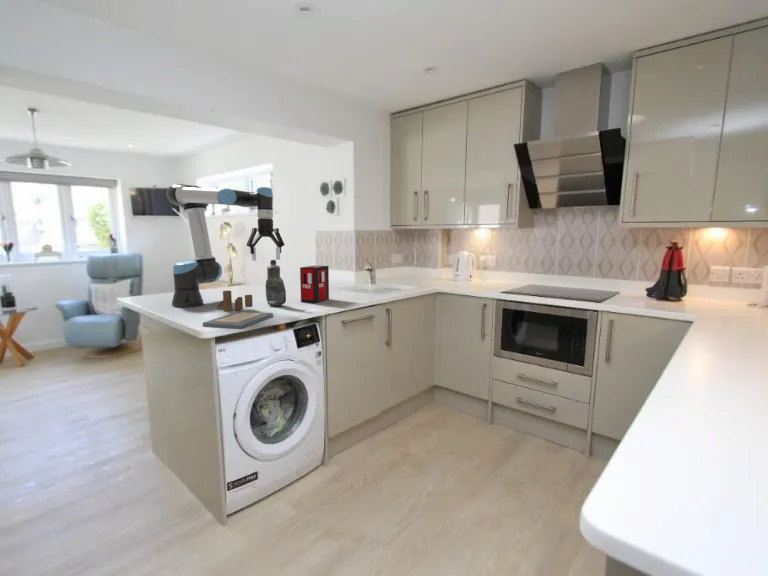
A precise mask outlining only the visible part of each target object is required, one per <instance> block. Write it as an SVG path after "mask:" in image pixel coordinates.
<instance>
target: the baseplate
mask: <svg viewBox="0 0 768 576" xmlns="http://www.w3.org/2000/svg"><path fill="white" fill-rule="evenodd" d="M272 317H274V313H273V312H261V311H260V312H259V311H243V310H239V311H236V312H233V313H232V312H231V313H229V314H226V315H223V316H220V317H216V318H213V319H209V320H206V321H204V322H202V327H208V326H210V327H209V328H211V327H212V328H213V327H214V328H225V329H227V328H228V329H240V330H241V329H245V328H246V327H248V326H251V325H254V324H257V323H259V322H261V321H264V320H267V319H269V318H272Z"/></svg>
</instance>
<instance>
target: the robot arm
mask: <svg viewBox="0 0 768 576" xmlns="http://www.w3.org/2000/svg"><path fill="white" fill-rule="evenodd" d="M273 196H274V195H273V189H272V188H271V187H268V186H260V187H257V188H256V191H245V190H237V189H233V188H232V189H231V188H209V187H208V188H205V187H202V186H198V185H189V184H183V183H175V184H171V185H170V186H169V187H168V188H167V190H166V198H167V199H168V201H169V202H170V203H171V204H173V205H175V206H178V207H183V212H184V213H186V215H187V218H188V223H189V230H190V237H191V241H192V246H193V252H194V258H193V259H192V260H183V261H179V262H176V263H174V264H173V269H172V273H173V282H174V283H173V284H174V285H173V286H174V293H173V298H172V301H171V306H172V307H173V306H174V307H173V308H191V307H200V306H203V305H204V298H203V297H202V296H203V295H202V294H201V292H200V286H199V285H201V284H210V283H214V282H217V281H218V280H219V279H220V278H221V276H222V273H223V268H222V265H221V264H220V262H218V261H216V257H215V256H214V255H213V254H212V249H211V243H210V236H209V232H208V227H207V220H206V214H205V213H206V212H207V210H208V206H209V205H224V206H236V207H237V206H238V207H242V208H251V207H252V208H254V207H255V208H257V218H258V219H257V227H252V229H251V233H250V236H249V237H248V240H247V242H246V247H249V250H250V255H251V260H252V261H254V262H255V261H257V248H256V246H257V244H258V243H259V241H260V240H261V239H262V238H266V237H267V238H270V239H271V240H272V242H273V243H274V244H275V245H276V247H275V260H281V253H282V248H283V247H284V246H285V242H284V240H283V238H282V235H281V233H280V229H279V228H275V227H274V220H273V218H274V214H273V213H274V211H273V210H274V209H273V201H274V200H273V198H274V197H273ZM257 232H258V233H257ZM256 234H257V235H256ZM274 234H275V235H274Z"/></svg>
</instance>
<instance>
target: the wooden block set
mask: <svg viewBox="0 0 768 576" xmlns="http://www.w3.org/2000/svg"><path fill="white" fill-rule="evenodd" d="M243 303H244V305H243ZM232 304H233V301H232V290H223V291H222V300H221V301H220V302H219V304H217V305H216V308H218V309H219V308H223V312H228V311H229V312H232V311H233V305H232ZM253 304H254V303H253V295H252V294H245V295H244V301H243V296H238V297H236V299H235V300H234V309H235V310H239V311H241V310H243V309H244V307H245V308H253ZM243 306H244V307H243Z"/></svg>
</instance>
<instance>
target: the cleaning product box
mask: <svg viewBox="0 0 768 576" xmlns="http://www.w3.org/2000/svg"><path fill="white" fill-rule="evenodd" d="M329 270H330V269H329V265H310V266H302V267H300V268H299V278H300V303H306V304H317V303H321V302H325V301H327V299H328V300H329V299H330V284H329V283H330V282H329V281H330V279H329V276H330V275H329ZM324 300H325V301H324Z"/></svg>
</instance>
